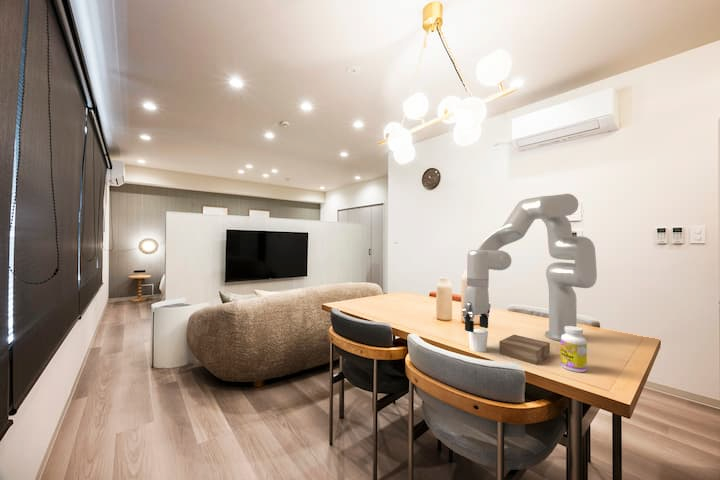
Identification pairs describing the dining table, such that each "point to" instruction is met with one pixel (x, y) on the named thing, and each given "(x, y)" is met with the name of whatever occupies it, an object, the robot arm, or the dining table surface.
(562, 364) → the supplement bottle
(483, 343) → the white cup
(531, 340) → the walnut block
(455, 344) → the dining table surface
